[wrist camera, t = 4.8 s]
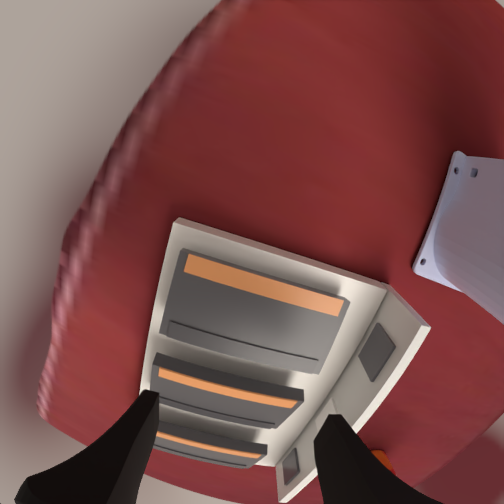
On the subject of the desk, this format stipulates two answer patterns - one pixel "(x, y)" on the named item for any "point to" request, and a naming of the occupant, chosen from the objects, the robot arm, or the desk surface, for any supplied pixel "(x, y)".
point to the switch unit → (315, 386)
